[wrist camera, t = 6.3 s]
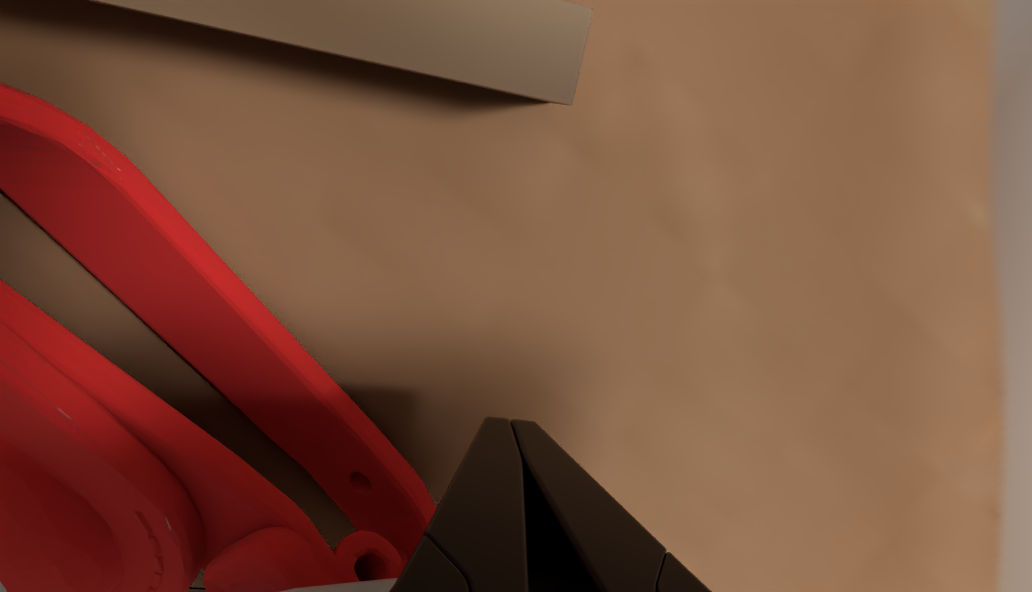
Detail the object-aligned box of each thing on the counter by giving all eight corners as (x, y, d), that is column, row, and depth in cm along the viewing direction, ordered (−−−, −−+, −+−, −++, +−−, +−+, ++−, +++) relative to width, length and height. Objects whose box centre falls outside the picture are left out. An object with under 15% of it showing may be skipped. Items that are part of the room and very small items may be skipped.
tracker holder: (-180, 664, 10) (-1138, 131, 4) (25, 467, 14) (-341, 33, 8) (460, 763, 9) (334, 196, 3) (499, 517, 12) (476, 44, 7)
